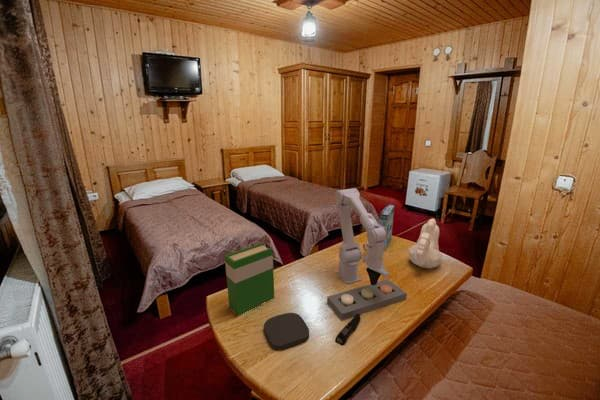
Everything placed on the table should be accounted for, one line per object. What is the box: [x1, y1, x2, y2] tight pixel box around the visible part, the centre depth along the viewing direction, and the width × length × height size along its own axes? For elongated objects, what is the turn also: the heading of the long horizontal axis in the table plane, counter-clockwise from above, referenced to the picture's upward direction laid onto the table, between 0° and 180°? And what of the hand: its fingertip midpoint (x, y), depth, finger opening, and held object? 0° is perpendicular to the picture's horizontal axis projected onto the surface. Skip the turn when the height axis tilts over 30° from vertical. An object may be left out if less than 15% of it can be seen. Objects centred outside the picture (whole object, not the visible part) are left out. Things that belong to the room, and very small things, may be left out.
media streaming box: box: [263, 312, 310, 351], centre depth 104 cm, size 15×15×3 cm
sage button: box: [361, 288, 374, 300], centre depth 120 cm, size 5×5×2 cm
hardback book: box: [224, 242, 275, 317], centre depth 117 cm, size 18×7×24 cm, turn 130°
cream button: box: [341, 294, 354, 307], centre depth 117 cm, size 5×5×2 cm
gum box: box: [378, 204, 395, 253], centre depth 170 cm, size 20×5×23 cm, turn 151°
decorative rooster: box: [407, 218, 442, 270], centre depth 145 cm, size 25×16×25 cm, turn 133°
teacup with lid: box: [362, 240, 369, 258], centre depth 157 cm, size 12×9×12 cm
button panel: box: [326, 278, 408, 321], centre depth 121 cm, size 12×32×3 cm, turn 114°
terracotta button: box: [380, 285, 392, 294], centre depth 124 cm, size 5×5×2 cm
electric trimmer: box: [334, 314, 361, 346], centre depth 104 cm, size 4×16×3 cm, turn 143°
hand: (373, 284), depth 120 cm, fingers closed
